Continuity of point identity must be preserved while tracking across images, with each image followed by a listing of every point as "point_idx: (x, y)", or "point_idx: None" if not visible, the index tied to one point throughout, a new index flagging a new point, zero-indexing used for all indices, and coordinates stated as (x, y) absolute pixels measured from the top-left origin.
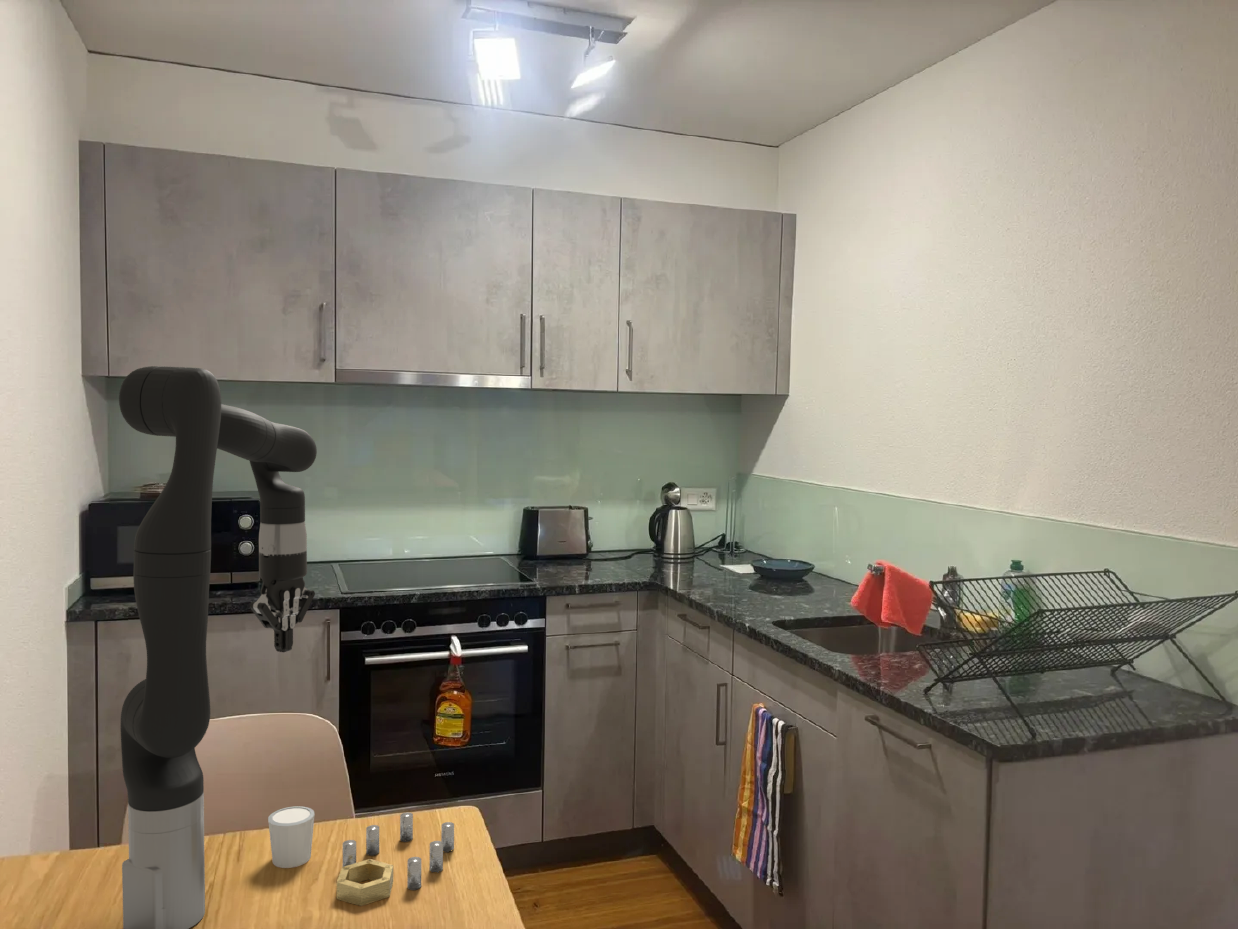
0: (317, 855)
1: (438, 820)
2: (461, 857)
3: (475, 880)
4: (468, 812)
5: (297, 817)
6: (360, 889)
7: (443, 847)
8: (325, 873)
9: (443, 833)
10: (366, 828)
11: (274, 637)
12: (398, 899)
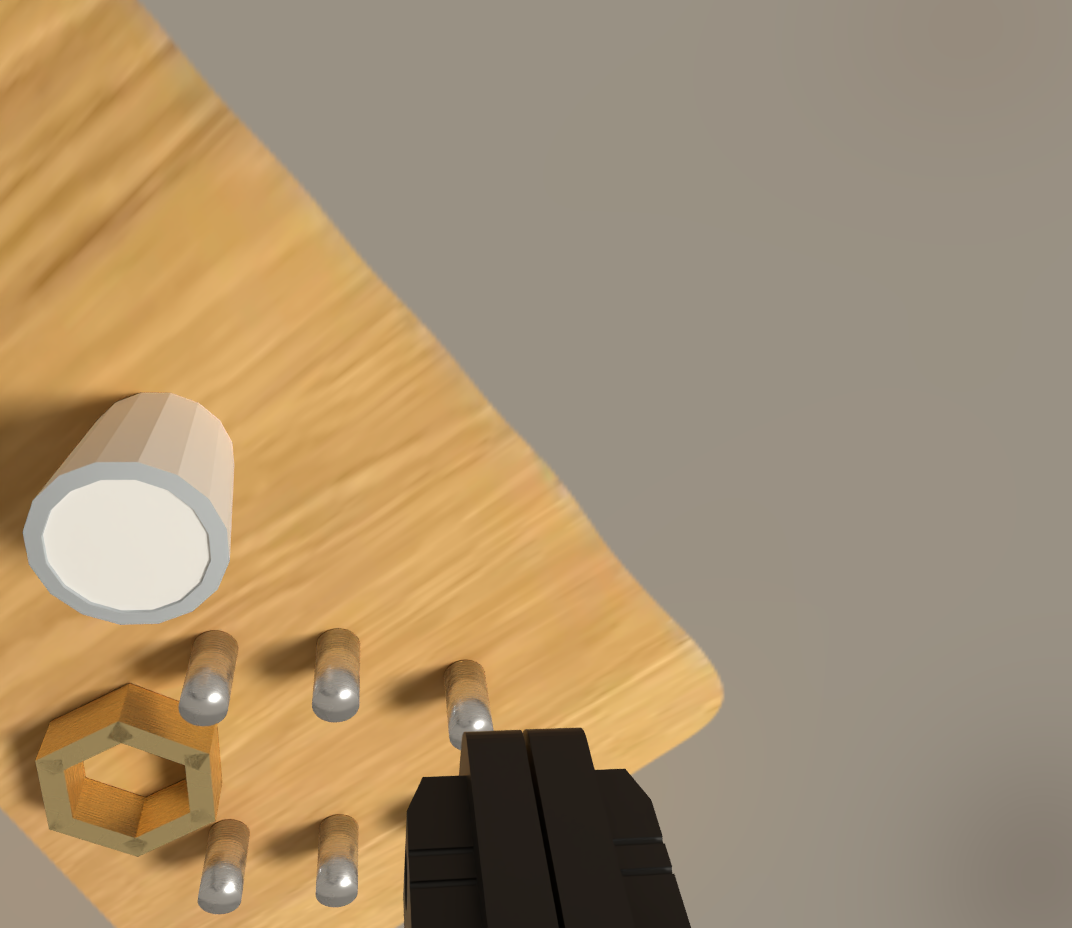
0: (233, 512)
1: (620, 683)
2: None
3: (338, 918)
4: (702, 724)
5: (131, 575)
6: (49, 827)
7: None
8: None
9: None
10: (322, 691)
11: (415, 926)
12: None
